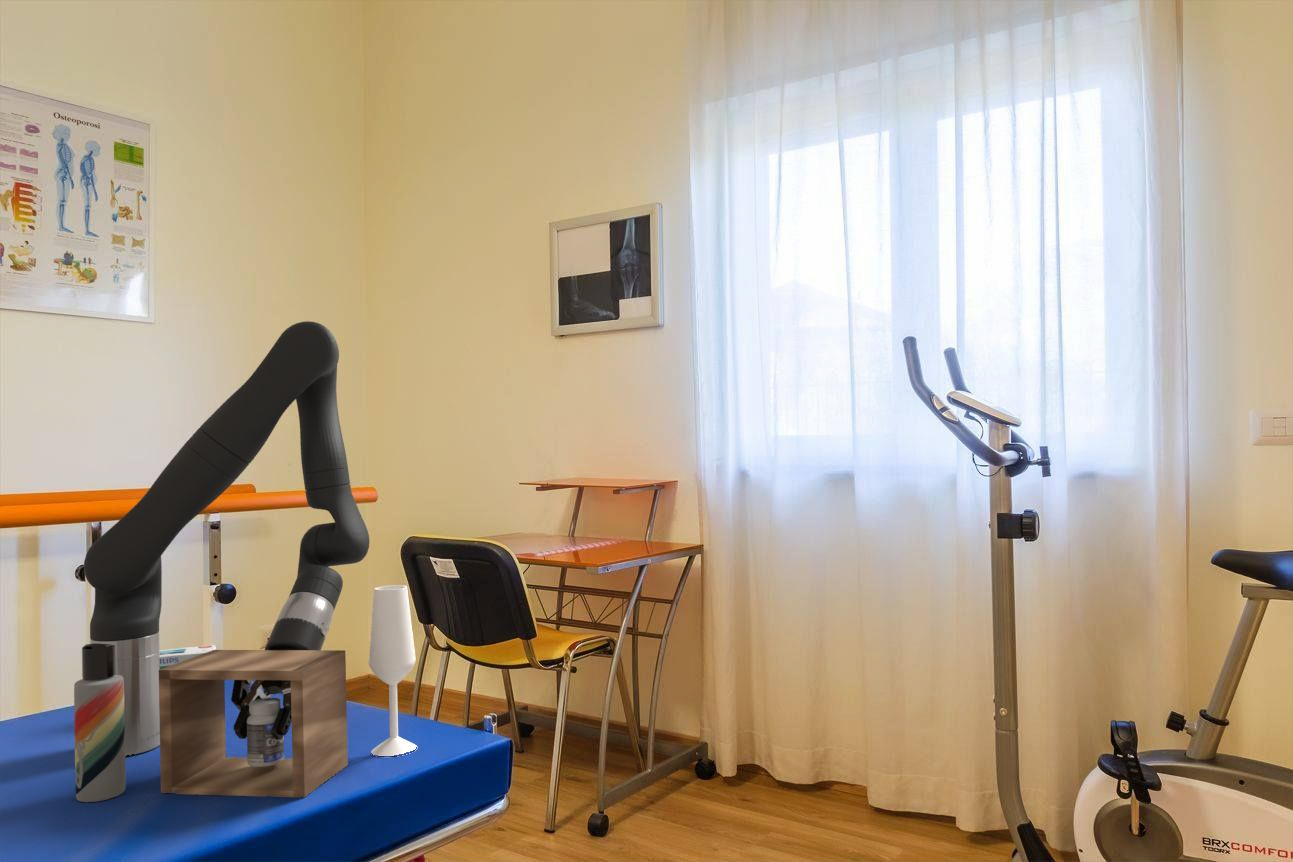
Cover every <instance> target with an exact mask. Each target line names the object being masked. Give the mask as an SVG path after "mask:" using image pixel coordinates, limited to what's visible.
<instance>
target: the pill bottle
mask: <svg viewBox="0 0 1293 862" xmlns="http://www.w3.org/2000/svg"><path fill="white" fill-rule="evenodd" d="M280 708H282V707H281V699H280V698H278V697H270V698H263V699H258V700H255V701H252V702H250V704H249V712H250V714H251V716H249V717H248V719H247V737H246V747H247V748H246V753H247V755H246V756H247V761H248V764H249V765H250V766H253V767H265V766H271V765H274V764H277V763H279V762H281V761H282V760H283V759H284V758H285V747H284V746H285V744H284V743H285V735H283V738H282V739H281V740H276V739H275V738H274V737H273V736H272V735H271V730H272V727H273V725H274V722H275V720H276V717H277V715H278V712H279V709H280Z"/></svg>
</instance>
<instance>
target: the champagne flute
mask: <svg viewBox="0 0 1293 862" xmlns="http://www.w3.org/2000/svg"><path fill="white" fill-rule="evenodd" d="M408 589H409V588H408V586H407V585H405V584H404V585H402V584H400V585H399V584H396V585H394V584H393V585H390V584H389V585H382V586H377V587H374V588H373V601H372V602H373V603H372V604H373V605H372V616H371V628H370V629H371V631H370V642H369V644H370V645H369V654H368V655H369V658H368V665H369V666H368V667H369V669H370V670H371V672H372V673H373V674H374V675H375V676H377V678H379V680H380V681H382V682H383V683H384V684H387V685H388V703H389V704H388V707H389V710H388V711H389V737H388V738H387V739H385V740H384V741H382V742H381V743H380V744H378V745H376V746H375V747H374V748H373V749H371V751H370V753H372V754H373V755H372V754H371V755H372V756H374V755H378V756H394V755H399V754H404V753H406V752H410V751H413V750H415V749H416V747H417V748H418V746H417V745H416V744H415V743H413V742H411V741H408V740H407V739H404V738H402V737H401V736H399V719H398V718H399V717H398V716H399V713H398V708H399V707H398V684H399V683H401V682H402V681H403V680H404V679H405V678H406V676H408V675H409V673H411V671H412V670H413V668H414V666H415V664H416V659H417V657H416V652H415V651H416V650H415V649H416V648H415V642H414V641H415V640H414V635H413V627H412V626H413V624H412V616H411V615H412V614H411V607H410V601H409V593H408ZM416 750H417V749H416ZM416 750H415V751H416Z"/></svg>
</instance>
